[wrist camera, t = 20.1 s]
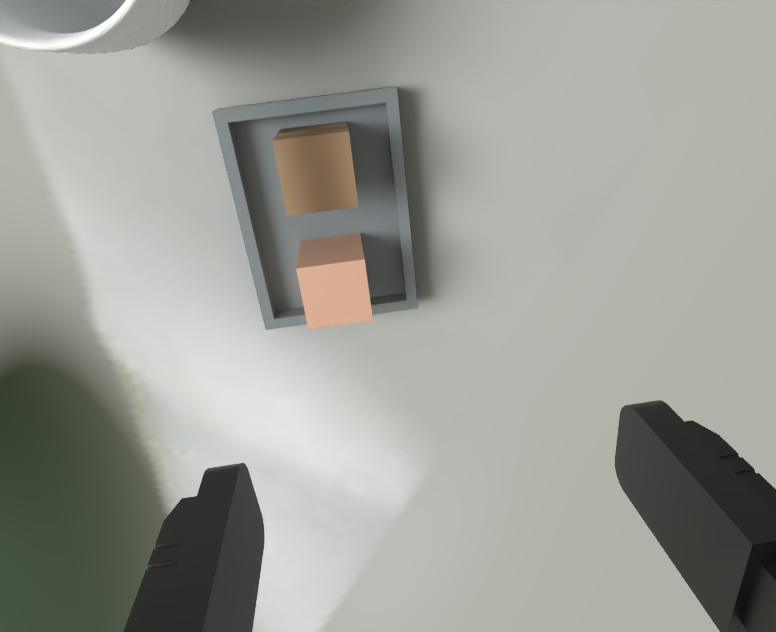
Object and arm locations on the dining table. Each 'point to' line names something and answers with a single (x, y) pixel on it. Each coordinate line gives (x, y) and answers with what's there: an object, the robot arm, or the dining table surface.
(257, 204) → the tray
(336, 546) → the dining table surface
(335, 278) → the block
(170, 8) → the mug
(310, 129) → the block
